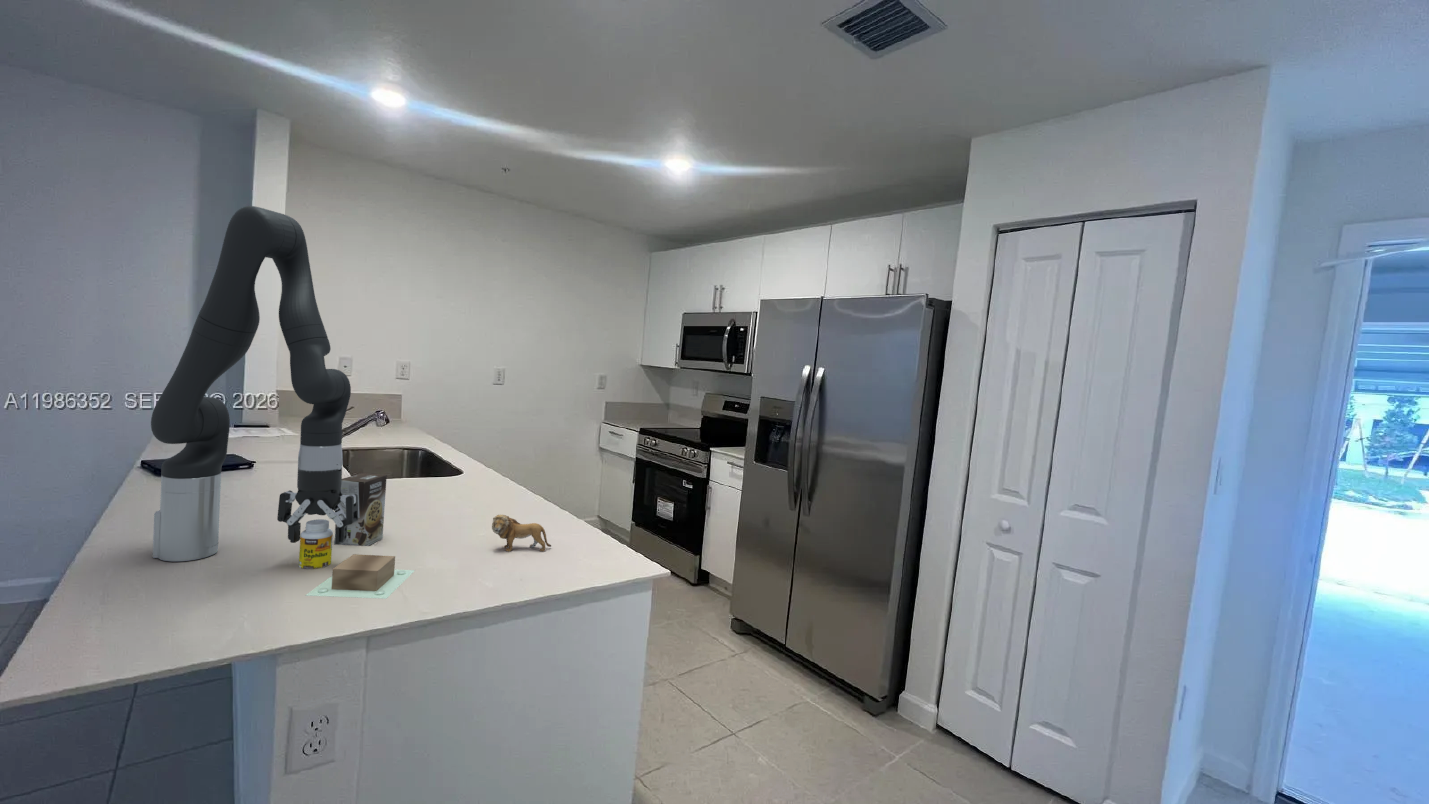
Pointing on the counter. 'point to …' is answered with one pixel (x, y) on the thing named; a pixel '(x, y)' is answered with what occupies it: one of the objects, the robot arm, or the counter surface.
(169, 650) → the counter surface
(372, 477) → the coffee box
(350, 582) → the walnut block
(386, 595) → the plate
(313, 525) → the supplement bottle
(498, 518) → the lion figurine
